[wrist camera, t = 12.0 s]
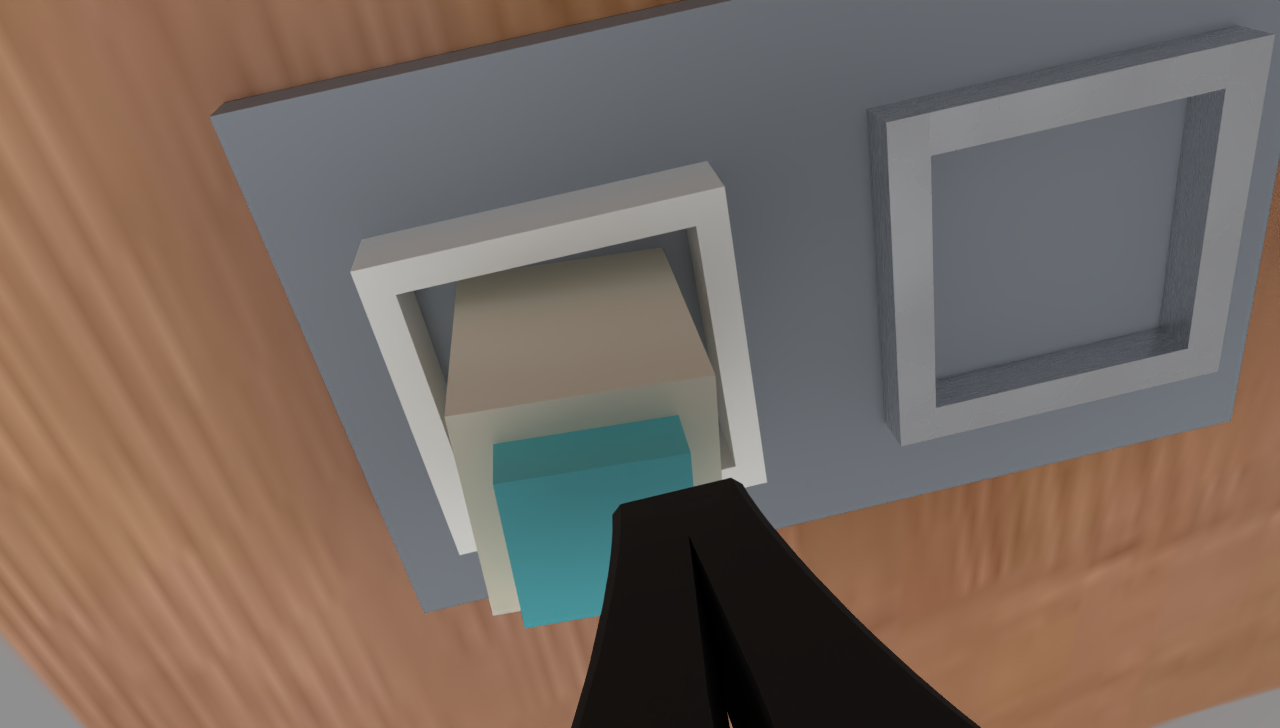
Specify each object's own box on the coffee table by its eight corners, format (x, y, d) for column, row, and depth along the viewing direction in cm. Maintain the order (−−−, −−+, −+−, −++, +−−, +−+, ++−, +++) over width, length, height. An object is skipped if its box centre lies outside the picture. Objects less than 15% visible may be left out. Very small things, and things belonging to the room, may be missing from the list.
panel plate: (1289, -135, 17) (1333, -135, 16) (1202, 399, 23) (1230, 420, 22) (224, 102, 16) (208, 117, 15) (427, 583, 22) (424, 613, 21)
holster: (1235, 25, 17) (1275, 33, 16) (1188, 349, 21) (1217, 371, 20) (866, 108, 17) (886, 122, 16) (884, 421, 20) (900, 446, 20)
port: (707, 160, 17) (724, 186, 16) (750, 441, 20) (767, 482, 19) (361, 239, 17) (350, 271, 15) (462, 510, 20) (459, 555, 19)
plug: (662, 247, 18) (730, 410, 12) (677, 416, 20) (741, 618, 14) (457, 276, 17) (440, 456, 12) (494, 445, 19) (493, 662, 14)
